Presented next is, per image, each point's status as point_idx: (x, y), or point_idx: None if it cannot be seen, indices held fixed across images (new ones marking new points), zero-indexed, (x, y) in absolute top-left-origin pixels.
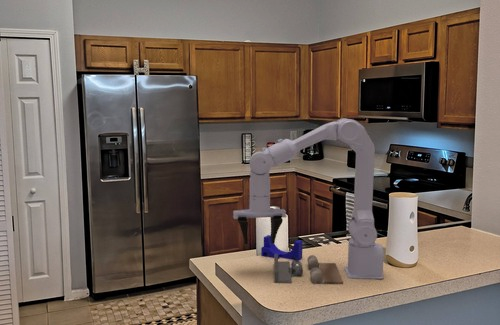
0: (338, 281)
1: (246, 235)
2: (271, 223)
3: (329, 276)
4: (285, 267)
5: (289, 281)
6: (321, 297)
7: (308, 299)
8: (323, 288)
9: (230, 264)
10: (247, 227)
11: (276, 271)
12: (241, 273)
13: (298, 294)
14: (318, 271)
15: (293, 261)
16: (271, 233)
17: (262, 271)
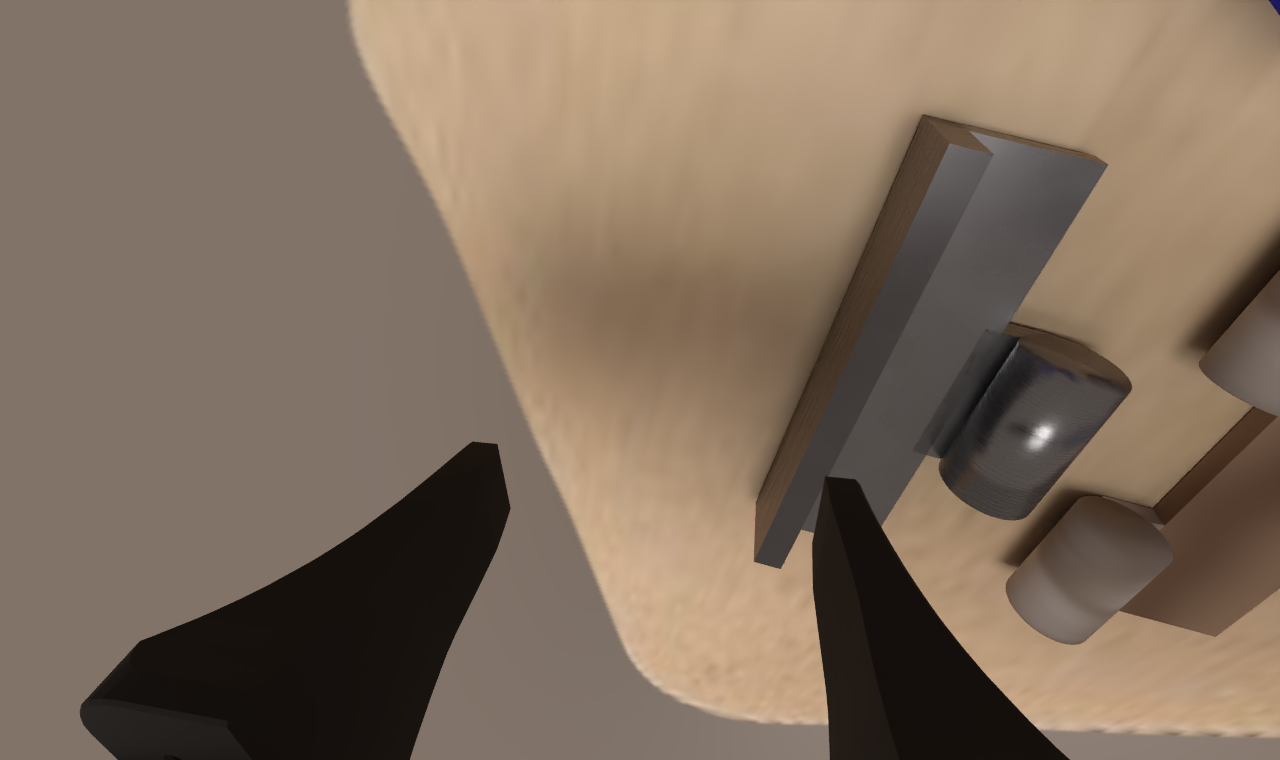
0: (1190, 625)
1: (451, 615)
2: (866, 730)
3: (1207, 550)
4: (955, 327)
5: None
6: None
7: None
8: None
9: (452, 26)
10: (410, 749)
11: (768, 560)
12: (553, 289)
13: None
14: (1097, 621)
15: (1042, 400)
16: (837, 585)
17: (735, 281)
